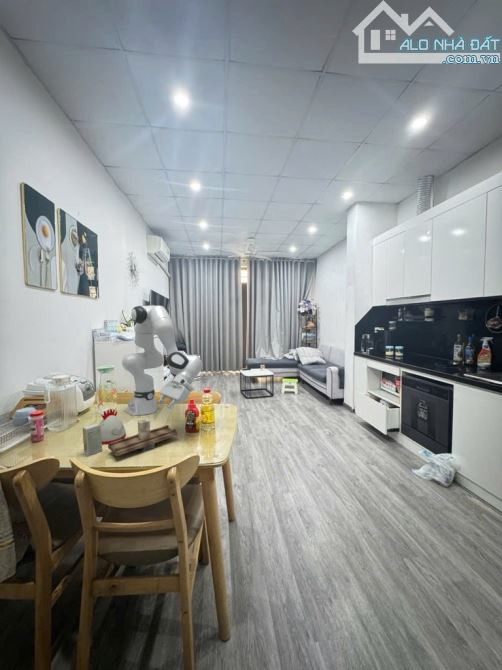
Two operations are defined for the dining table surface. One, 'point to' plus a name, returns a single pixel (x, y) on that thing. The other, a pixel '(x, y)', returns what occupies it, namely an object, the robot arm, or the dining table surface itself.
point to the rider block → (143, 429)
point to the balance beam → (141, 441)
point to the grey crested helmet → (111, 428)
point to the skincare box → (92, 439)
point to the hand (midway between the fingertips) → (163, 405)
